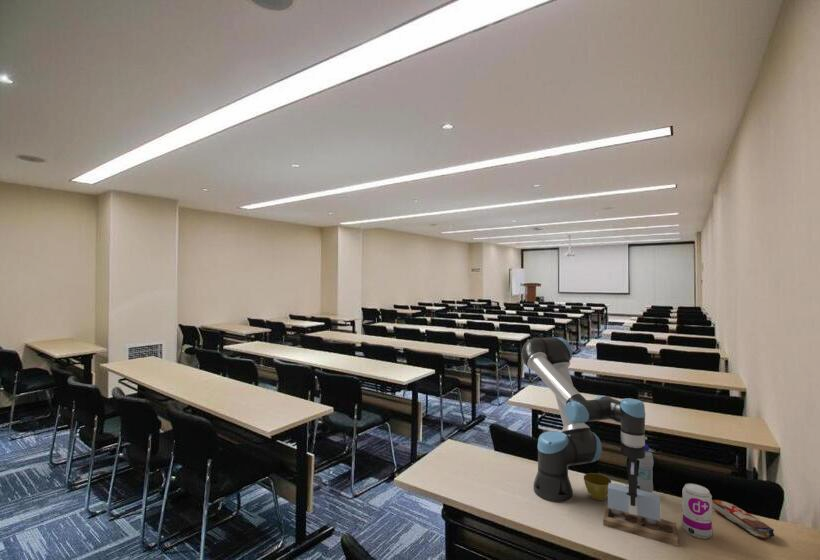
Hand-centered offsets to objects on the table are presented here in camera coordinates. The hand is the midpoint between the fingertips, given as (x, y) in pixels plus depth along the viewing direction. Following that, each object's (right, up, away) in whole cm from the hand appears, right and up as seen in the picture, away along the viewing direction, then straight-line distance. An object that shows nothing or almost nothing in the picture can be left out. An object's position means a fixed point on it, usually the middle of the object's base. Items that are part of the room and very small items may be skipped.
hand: (633, 510), depth 141 cm
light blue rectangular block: (0, -2, 0) cm, 2 cm away
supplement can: (+20, -6, -4) cm, 21 cm away
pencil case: (+39, -6, +1) cm, 39 cm away
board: (+2, -5, -1) cm, 6 cm away
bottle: (+17, -6, +22) cm, 28 cm away
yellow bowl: (-4, -6, +19) cm, 20 cm away
